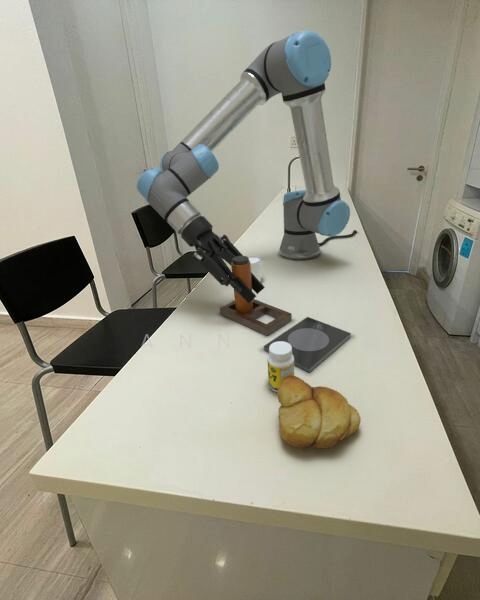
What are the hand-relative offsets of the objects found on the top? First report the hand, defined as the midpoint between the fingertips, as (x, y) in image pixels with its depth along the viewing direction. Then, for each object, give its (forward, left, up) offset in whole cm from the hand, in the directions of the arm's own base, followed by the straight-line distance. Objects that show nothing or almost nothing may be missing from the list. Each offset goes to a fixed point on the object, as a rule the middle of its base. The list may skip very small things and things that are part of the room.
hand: (256, 295), depth 82 cm
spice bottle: (+1, -4, -6) cm, 7 cm away
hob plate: (+2, +17, -6) cm, 19 cm away
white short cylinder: (-15, -17, -6) cm, 23 cm away
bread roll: (+21, +33, -6) cm, 39 cm away
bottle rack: (+1, 0, -6) cm, 6 cm away
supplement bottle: (+16, +21, -6) cm, 28 cm away
